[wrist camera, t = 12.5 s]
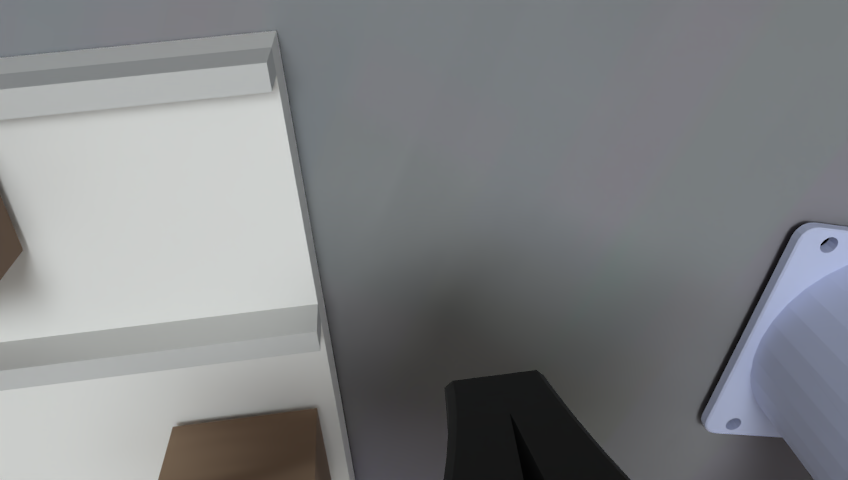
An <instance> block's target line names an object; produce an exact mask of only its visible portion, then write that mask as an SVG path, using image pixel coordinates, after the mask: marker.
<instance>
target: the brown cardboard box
mask: <svg viewBox="0 0 848 480" xmlns="http://www.w3.org/2000/svg"><path fill="white" fill-rule="evenodd" d="M22 251H23V248H22V246H21V243H20V241H19V239H18V236H17V234H16V231H15V229H14V227H13V224H12V222H11V220H10V217H9V215H8V212H7V210H6V208H5V205H4V203H3V200H2V198H1V196H0V280H1V279H2V277H3V276H4V275H5V273H6V272H7V271H8V269H9V268H10V267H11V266H12V264H13V263H14V262H15V260H16V259H17V258H18V256H19V255H20V254H21V252H22Z"/></svg>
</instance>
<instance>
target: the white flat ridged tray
mask: <svg viewBox="0 0 848 480" xmlns="http://www.w3.org/2000/svg"><path fill="white" fill-rule="evenodd" d="M0 196H1V198H2V200H3V203H4V205H5V208H6V210H7V212H8V215H9V217H10V220H11V222H12V224H13V227H14V229H15V231H16V234H17V236H18V239H19V241H20V243H21V246H22V248H23V251H22V252H21V254H20V255H19V256H18V258H17V259H16V260H15V262H14V263H13V264H12V266H11V267H10V268H9V269H8V271H7V272H6V273H5V275H4V276H3V277H2V279H1V280H0V480H158V478H159V475H160V471H161V467H162V464H163V460H164V457H165V453H166V449H167V446H168V442H169V439H170V435H171V431H172V428H173V427H175V426H183V425H191V424H198V423H206V422H214V421H221V420H229V419H237V418H245V417H252V416H260V415H268V414H275V413H283V412H291V411H299V410H306V409H314V408H317V410H318V415H319V420H320V425H321V430H322V435H323V440H324V445H325V450H326V455H327V460H328V465H329V470H330V475H331V480H355V476H354V470H353V464H352V458H351V453H350V447H349V441H348V436H347V430H346V424H345V418H344V413H343V407H342V401H341V396H340V390H339V384H338V378H337V373H336V367H335V361H334V356H333V350H332V344H331V338H330V333H329V327H328V321H327V316H326V310H325V304H324V298H323V293H322V287H321V281H320V276H319V270H318V264H317V258H316V253H315V247H314V241H313V236H312V230H311V224H310V218H309V213H308V207H307V201H306V196H305V190H304V184H303V178H302V173H301V167H300V161H299V156H298V150H297V144H296V138H295V133H294V127H293V121H292V116H291V110H290V104H289V98H288V93H287V87H286V81H285V76H284V70H283V64H282V58H281V53H280V47H279V41H278V36H277V31H267V32H257V33H247V34H237V35H226V36H216V37H206V38H196V39H186V40H176V41H165V42H155V43H145V44H135V45H125V46H115V47H105V48H94V49H84V50H74V51H64V52H54V53H44V54H33V55H23V56H13V57H3V58H0Z"/></svg>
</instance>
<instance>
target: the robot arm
mask: <svg viewBox="0 0 848 480" xmlns="http://www.w3.org/2000/svg"><path fill="white" fill-rule="evenodd" d="M827 238H829V240H828V241H827V242H826V243H825V244H823V245H822V246H821V243H822V242H823V241H824V240H826V239H827ZM445 397H446V410H447V424H448V446H447V460H446V467H445V475H444V480H630V479H629V478H628V477H627V475H626V474H625V473H624V472H623V471H622V470H621V469H620V468H619V467H618V466H617V465H616V463H615V462H614V461H613V460H612V459H611V458H610V457H609V456H608V455H607V454H606V453H605V451H604V450H603V449H602V448H601V447H600V446H599V444H598V443H597V442H596V441H595V440H594V439H593V438H592V436H591V435H590V434H589V433H588V432H587V430H586V429H585V428H584V427H583V426H582V424H581V423H580V422H579V421H578V420H577V418H576V417H575V416H574V415H573V413H572V412H571V411H570V410H569V408H568V407H567V406H566V405H565V403H564V402H563V401H562V400H561V398H560V397H559V396H558V394H557V393H556V392H555V390H554V389H553V388H552V386H551V385H550V384H549V382H548V381H547V379H546V378H545V377H544V376H543V375H542V374H541V373H540V372H538V371H537V370H534V371H526V372H519V373H511V374H503V375H495V376H488V377H480V378H472V379H464V380H457V381H452V382H451V383H450V384H449V385H448V386H447V387H446V388H445ZM731 419H732V420H731ZM729 420H730V421H729ZM701 421H702V424H703V425H704V427H705V428H706V430H708V431H709V432H712V433H721V434H736V435H751V436H766V437H781V438H783V439H784V440H785V441H786V443H787V444H788V445H789V447H790V448H791V449H792V451H793V452H794V453H795V455H796V456H797V457H798V459H799V460H800V461H801V463H802V464H803V465H804V467H805V468H806V470H807V471H808V472H809V474H810V475H811V476H812V478H813V479H814V480H848V227H846V226H838V225H831V224H823V223H816V222H812V223H806V224H804V225H802V226H800V227H799V228H798V229H796V230H795V232H794V233H793V235H792V236H791V238H790V240H789V242H788V244H787V246H786V248H785V250H784V252H783V254H782V256H781V258H780V260H779V262H778V264H777V266H776V268H775V270H774V272H773V274H772V276H771V278H770V280H769V282H768V284H767V286H766V288H765V290H764V292H763V294H762V296H761V298H760V300H759V302H758V304H757V306H756V308H755V310H754V312H753V314H752V316H751V318H750V320H749V322H748V324H747V326H746V328H745V330H744V332H743V334H742V336H741V338H740V340H739V342H738V344H737V346H736V348H735V350H734V352H733V354H732V356H731V358H730V360H729V362H728V364H727V366H726V368H725V370H724V372H723V374H722V376H721V378H720V380H719V382H718V384H717V386H716V388H715V390H714V392H713V394H712V396H711V398H710V400H709V402H708V404H707V406H706V408H705V410H704V412H703V414H702V417H701Z"/></svg>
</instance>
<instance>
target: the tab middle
mask: <svg viewBox="0 0 848 480" xmlns="http://www.w3.org/2000/svg"><path fill="white" fill-rule="evenodd" d="M158 480H331V475H330V470H329V465H328V460H327V455H326V450H325V445H324V440H323V435H322V430H321V425H320V420H319V415H318V410H317V408H314V409H306V410H299V411H291V412H283V413H275V414H268V415H260V416H252V417H245V418H237V419H229V420H221V421H214V422H206V423H198V424H191V425H183V426H175V427H173V428H172V431H171V435H170V439H169V442H168V446H167V449H166V453H165V457H164V460H163V464H162V467H161V471H160V475H159V478H158Z"/></svg>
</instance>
